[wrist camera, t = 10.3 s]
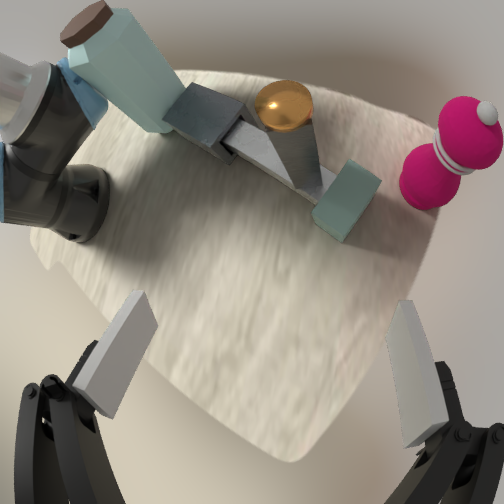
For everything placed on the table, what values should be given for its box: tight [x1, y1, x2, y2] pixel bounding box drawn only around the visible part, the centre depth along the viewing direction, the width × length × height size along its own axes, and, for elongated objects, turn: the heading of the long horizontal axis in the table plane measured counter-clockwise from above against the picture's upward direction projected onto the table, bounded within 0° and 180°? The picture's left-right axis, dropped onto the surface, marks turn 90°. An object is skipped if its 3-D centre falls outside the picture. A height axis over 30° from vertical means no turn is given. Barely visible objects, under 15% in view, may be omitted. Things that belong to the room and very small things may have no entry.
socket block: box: [311, 159, 382, 243], centre depth 29 cm, size 4×7×7 cm, turn 142°
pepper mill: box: [399, 96, 503, 210], centre depth 20 cm, size 7×7×20 cm
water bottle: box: [60, 0, 186, 133], centre depth 28 cm, size 10×10×25 cm
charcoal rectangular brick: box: [162, 82, 258, 165], centre depth 35 cm, size 10×7×6 cm
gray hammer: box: [220, 80, 337, 205], centre depth 24 cm, size 18×4×18 cm, turn 52°
